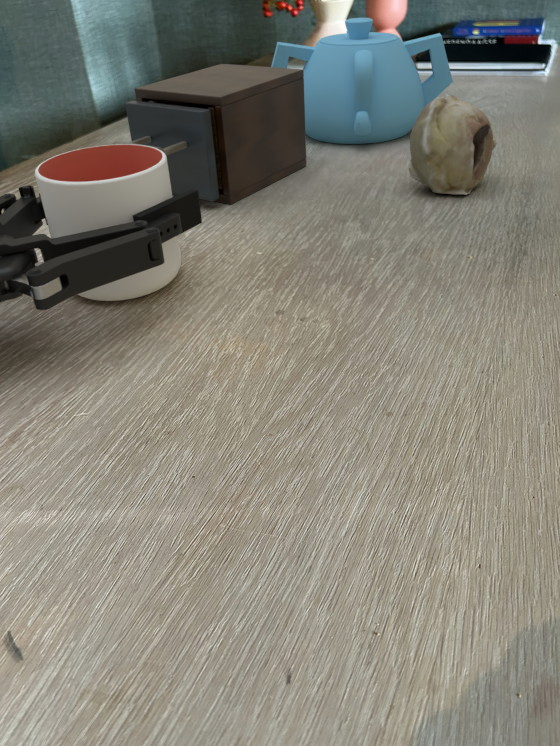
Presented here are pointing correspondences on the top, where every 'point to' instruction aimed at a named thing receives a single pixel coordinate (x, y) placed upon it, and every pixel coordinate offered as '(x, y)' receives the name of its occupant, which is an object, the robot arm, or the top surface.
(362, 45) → the teapot
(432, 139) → the garlic bulb
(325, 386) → the top surface
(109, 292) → the cup
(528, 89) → the top surface
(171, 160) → the drawer
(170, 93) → the cabinet
